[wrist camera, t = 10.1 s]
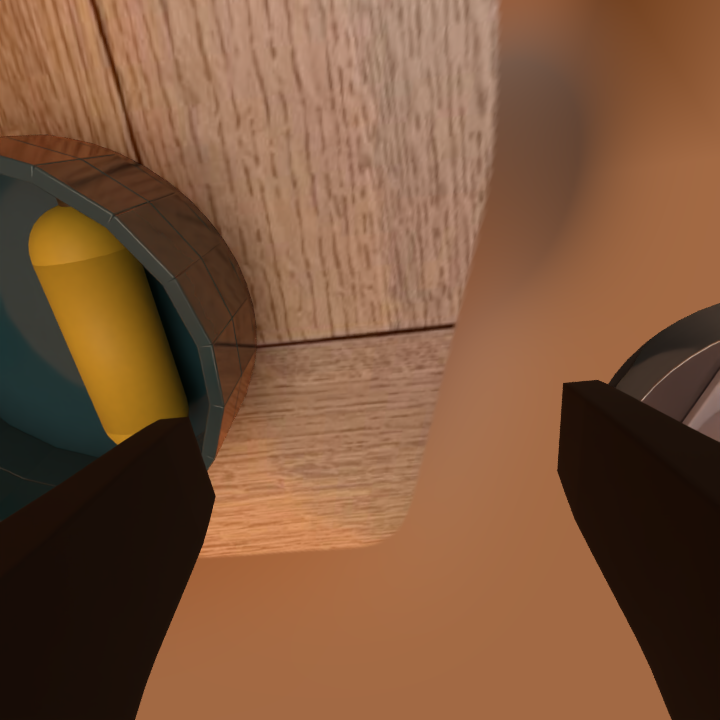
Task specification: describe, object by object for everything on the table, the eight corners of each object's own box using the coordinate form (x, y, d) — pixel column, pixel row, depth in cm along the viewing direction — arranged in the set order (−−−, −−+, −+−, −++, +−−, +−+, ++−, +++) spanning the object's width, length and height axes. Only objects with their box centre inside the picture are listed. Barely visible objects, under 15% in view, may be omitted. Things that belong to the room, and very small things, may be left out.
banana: (143, 423, 22) (210, 420, 21) (100, 470, 19) (176, 468, 18) (48, 180, 17) (131, 169, 17) (-27, 194, 14) (70, 180, 14)
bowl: (288, 201, 18) (256, 229, 13) (229, 487, 24) (194, 572, 19) (-118, 81, 16) (-306, 67, 12) (-68, 416, 22) (-180, 490, 18)
